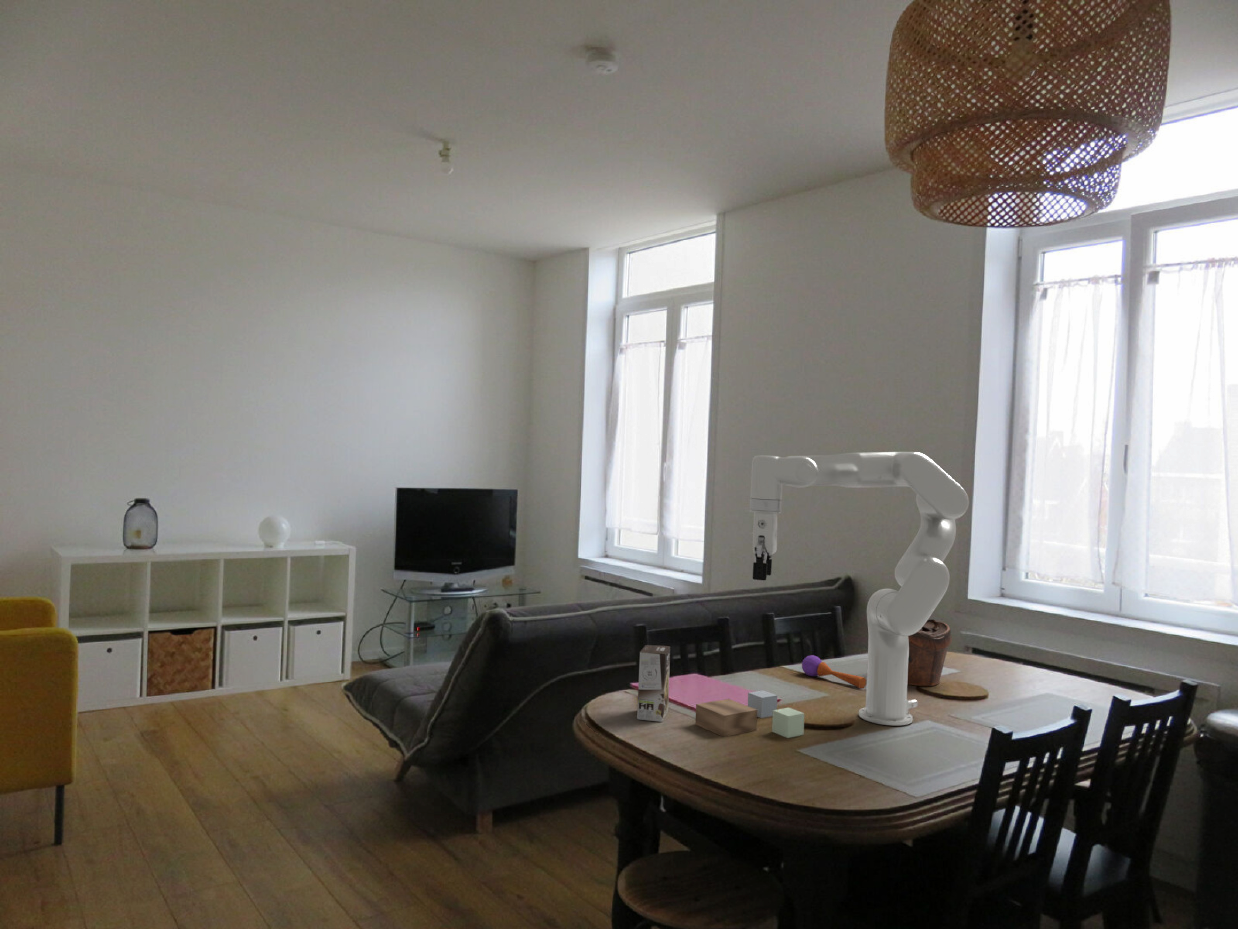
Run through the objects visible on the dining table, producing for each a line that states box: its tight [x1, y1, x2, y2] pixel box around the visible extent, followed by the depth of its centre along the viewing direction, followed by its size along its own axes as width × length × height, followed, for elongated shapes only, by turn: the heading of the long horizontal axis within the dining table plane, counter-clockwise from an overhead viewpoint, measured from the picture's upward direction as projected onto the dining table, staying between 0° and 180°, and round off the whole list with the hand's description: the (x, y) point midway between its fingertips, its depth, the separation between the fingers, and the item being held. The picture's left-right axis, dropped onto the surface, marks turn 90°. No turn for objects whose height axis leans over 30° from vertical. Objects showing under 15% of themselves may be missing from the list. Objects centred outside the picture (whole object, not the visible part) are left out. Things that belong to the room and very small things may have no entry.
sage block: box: [771, 707, 805, 739], centre depth 203 cm, size 5×5×5 cm
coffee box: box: [636, 644, 671, 723], centre depth 213 cm, size 9×6×16 cm
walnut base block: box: [694, 698, 758, 738], centre depth 206 cm, size 10×10×5 cm
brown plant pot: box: [907, 619, 953, 687], centre depth 256 cm, size 18×20×18 cm
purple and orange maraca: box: [801, 654, 867, 690], centre depth 253 cm, size 6×6×20 cm
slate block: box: [747, 689, 778, 719], centre depth 218 cm, size 5×5×5 cm
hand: (762, 577), depth 214 cm, fingers open, 9 cm apart
